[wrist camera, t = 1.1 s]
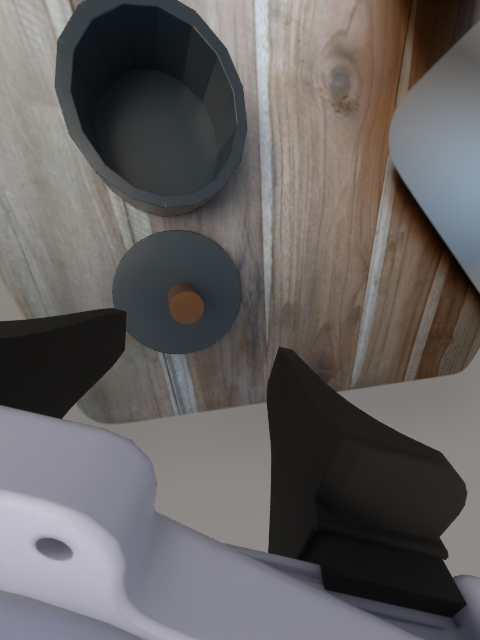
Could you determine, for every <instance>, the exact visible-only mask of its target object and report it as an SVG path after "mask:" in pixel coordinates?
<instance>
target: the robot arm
mask: <svg viewBox="0 0 480 640" xmlns="http://www.w3.org/2000/svg"><path fill="white" fill-rule="evenodd" d="M126 316H127V311H123V310H119V309H115V308H107V309H98V310H92V311H85V312H79V313H73V314H67V315H60V316H53V317H45V318H38V319H28V320H16V321H0V640H480V578H479V577H475V576H471V575H459V576H454V577H453V578H452V576H451V574H450V572H449V570H448V569H447V567H446V565H445V563H444V561H443V559H444V560H446V559H447V558H448V551H447V550H446V548H445V546H444V544H443V543H442V541H441V539H440V536H441V535H442V534H443V532H444V531H445V530H446V529H447V528H448V527H449V525H450V524H451V523H452V522H453V521H454V520H455V519H456V517H457V516H458V515H459V514H460V512H461V511H462V509H463V507H464V506H465V502H466V497H467V490H466V485H465V483H464V481H463V480H462V478H461V477H460V476H459V474H458V473H457V472H456V471H455V469H454V468H453V467H452V465H451V464H450V463H449V462H448V461H447V459H446V458H445V457H444V456H443V454H442V453H441V452H439V451H437V450H435V449H433V448H431V447H429V446H426V445H424V444H422V443H420V442H418V441H416V440H414V439H412V438H409V437H407V436H405V435H403V434H401V433H399V432H397V431H395V430H394V429H392V428H390V427H388V426H387V425H385V424H383V423H381V422H379V421H378V420H376V419H374V418H373V417H371V416H369V415H368V414H366V413H365V412H363V411H362V410H360V409H359V408H357V407H355V406H354V405H353V404H351V403H350V402H348V401H347V400H346V399H345V398H343V397H342V396H340V395H339V394H338V393H337V392H335V391H334V390H333V389H332V388H331V387H329V386H328V385H327V384H326V383H325V382H324V381H323V380H322V379H321V378H320V377H319V376H318V375H317V374H315V373H314V372H313V371H312V369H311V368H310V367H309V366H308V365H307V364H306V363H305V362H304V361H303V360H302V359H301V358H300V357H299V356H298V355H297V354H296V353H295V352H294V351H293V350H291V349H287V348H282V347H279V349H278V352H277V355H276V358H275V361H274V365H273V368H272V371H271V374H270V377H269V380H268V386H267V409H268V420H269V431H270V440H271V501H270V504H271V505H270V526H269V527H270V528H269V547H268V553H266V552H261V551H257V550H252V549H248V548H243V547H239V546H234V545H230V544H225V543H221V542H219V541H217V540H215V539H213V538H210V537H208V536H206V535H204V534H202V533H200V532H197V531H195V530H194V529H191V528H189V527H187V526H185V525H183V524H181V523H179V522H177V521H174V520H172V519H170V518H168V517H166V516H164V515H162V514H160V513H158V512H155V509H154V503H155V495H156V488H157V482H156V478H155V474H154V469H153V465H152V462H151V460H150V459H149V458H148V457H147V456H146V455H145V454H144V453H143V452H142V451H141V449H140V448H139V447H138V446H137V445H136V444H135V443H134V442H133V441H132V440H129V439H127V438H125V437H122V436H120V435H118V434H116V433H113V432H111V431H109V430H106V429H103V428H98V427H94V426H89V425H85V424H80V423H76V422H72V421H67V420H63V419H62V418H63V417H64V416H65V414H66V413H67V412H68V411H69V410H70V408H71V407H72V406H73V405H74V404H75V403H76V402H77V401H78V400H79V399H80V398H81V397H82V396H83V395H84V394H85V393H86V392H87V391H88V390H89V389H90V388H91V387H92V386H93V385H94V384H95V383H96V382H97V381H98V380H99V379H100V378H101V377H102V376H103V375H104V374H105V373H106V372H107V371H108V370H109V369H110V368H111V367H112V366H113V365H114V364H115V363H116V361H117V360H118V359H119V357H120V356H121V354H122V353H123V352H124V350H125V335H126Z"/></svg>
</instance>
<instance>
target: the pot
mask: <svg viewBox="0 0 480 640" xmlns="http://www.w3.org/2000/svg"><path fill="white" fill-rule="evenodd" d="M55 90H56V94H57V97H58V100H59V103H60V106H61V110H62V113H63V116H64V119H65V122H66V126H67V129H68V132H69V134H70V137H71V138H72V139H73V141H74V142H75V144H76V145H77V146H78V148H79V149H80V151H81V152H82V153H83V155H84V156H85V158H86V159H87V160H88V162H89V163H90V165H91V166H92V167H93V169H94V170H95V172H96V173H97V174H98V175H99V176H100V178H101V179H102V180H103V181H104V182H105V183H106V185H107V186H108V187H109V188H110V189H111V190H112V191H113V192H114V193H116V194H117V195H118V196H120V197H121V198H122V199H123V200H125V201H126V202H128V203H129V204H131V205H132V206H133V207H135V208H137V209H139V210H142V211H145V212H148V213H151V214H155V215H160V216H176V215H181V214H188V213H190V212H191V211H193V210H195V209H196V208H198V207H199V206H201V205H203V204H204V203H206V202H207V201H209V200H210V199H211V198H212V197H213V196H215V195H216V194H217V193H218V192H219V191H220V190H222V189H223V188H224V186H225V185H226V183H227V182H228V180H229V178H230V177H231V175H232V174H233V172H234V171H235V169H236V168H237V166H238V165H239V163H240V161H241V156H242V151H243V147H244V142H245V137H246V132H247V120H246V111H245V102H244V93H243V86H242V84H241V81H240V79H239V77H238V74H237V72H236V70H235V67H234V65H233V62H232V60H231V58H230V55H229V53H228V51H227V48H225V46H224V45H223V43H222V42H221V41H220V40H219V39H218V37H217V36H216V35H215V34H214V33H213V31H212V30H211V29H210V28H209V27H208V25H207V24H206V23H205V22H204V20H203V19H202V18H201V17H200V16H199V14H198V13H196V11H194V10H193V9H191V8H189V7H188V6H186V5H184V4H183V3H181V2H179V1H178V0H85V1H83V2H81V3H80V4H79V5H78V6H77V8H76V10H75V11H74V13H73V15H72V17H71V18H70V20H69V22H68V23H67V25H66V27H65V29H64V30H63V32H62V34H61V35H60V37H59V39H58V41H57V57H56V74H55Z"/></svg>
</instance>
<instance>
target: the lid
mask: <svg viewBox="0 0 480 640" xmlns="http://www.w3.org/2000/svg"><path fill="white" fill-rule="evenodd" d="M112 294H113V303H114V307H115V309H119V310H123V311H127V316H126V330H127V331H128V333H129V334H130V335H131V336H132V337H133V338H135V339H136V340H137V341H139V342H140V343H141V344H143V345H145V346H147V347H148V348H151V349H153V350H156V351H159V352H163V353H169V354H187V353H192V352H196V351H199V350H202V349H204V348H206V347H208V346H210V345H212V344H213V343H215V342H216V341H217V340H219V339H220V338H221V337H222V336H223V335H224V334H225V333H226V332H227V331H228V329H229V328H230V327H231V325H232V324H233V322H234V320H235V318H236V316H237V313H238V310H239V307H240V301H241V284H240V279H239V275H238V272H237V269H236V267H235V265H234V263H233V262H232V260H231V259H230V257H229V256H228V254H227V253H226V252H225V251H224V250H223V249H222V248H221V247H220V246H219V245H218V244H216V243H215V242H213V241H212V240H210V239H208V238H206V237H204V236H202V235H200V234H197V233H194V232H189V231H182V230H170V231H163V232H159V233H156V234H153V235H150V236H148V237H146V238H144V239H142V240H141V241H139V242H138V243H137V244H135V245H134V246H133V247H132V248H131V249H130V250H129V251H128V252H127V253H126V254H125V256H124V257H123V258H122V260H121V262H120V264H119V265H118V267H117V270H116V273H115V276H114V281H113V291H112Z"/></svg>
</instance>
